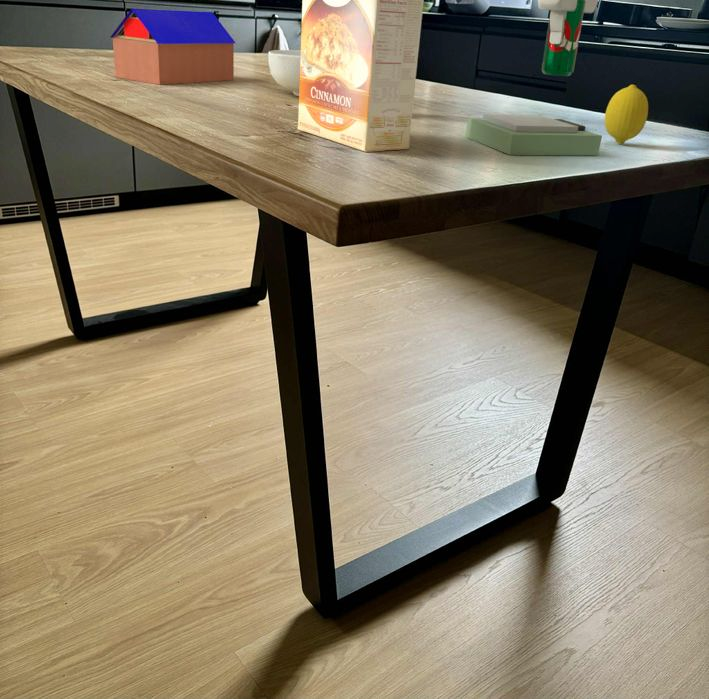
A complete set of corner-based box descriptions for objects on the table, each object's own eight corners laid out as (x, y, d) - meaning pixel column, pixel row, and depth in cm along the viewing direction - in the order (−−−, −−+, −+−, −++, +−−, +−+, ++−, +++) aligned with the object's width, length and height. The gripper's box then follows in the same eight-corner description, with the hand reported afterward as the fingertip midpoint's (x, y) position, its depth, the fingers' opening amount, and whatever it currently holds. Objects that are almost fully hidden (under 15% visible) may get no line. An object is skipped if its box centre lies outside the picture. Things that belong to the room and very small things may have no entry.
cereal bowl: (334, 89, 137) (336, 50, 134) (381, 102, 124) (385, 59, 121) (252, 89, 129) (252, 46, 125) (294, 103, 116) (295, 56, 113)
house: (112, 77, 131) (107, 6, 125) (191, 73, 146) (189, 9, 141) (159, 84, 125) (156, 11, 120) (236, 79, 140) (235, 14, 135)
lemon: (627, 141, 104) (640, 83, 101) (647, 148, 99) (662, 88, 96) (592, 139, 103) (604, 81, 100) (611, 147, 98) (624, 85, 95)
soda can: (560, 73, 119) (573, -7, 114) (579, 76, 115) (593, -7, 110) (534, 72, 118) (547, -9, 112) (552, 75, 113) (566, -9, 108)
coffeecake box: (295, 129, 93) (301, -41, 85) (340, 128, 97) (350, -35, 88) (363, 152, 82) (378, -40, 74) (410, 149, 86) (429, -33, 78)
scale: (547, 138, 102) (551, 113, 100) (598, 155, 92) (603, 129, 90) (465, 136, 98) (468, 111, 96) (509, 155, 88) (513, 127, 86)
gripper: (580, -63, 99) (562, 46, 105) (615, -50, 115) (597, 44, 121) (536, -63, 102) (521, 42, 108) (576, -50, 118) (561, 41, 124)
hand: (562, 43), depth 114 cm, fingers closed on soda can, 5 cm apart
